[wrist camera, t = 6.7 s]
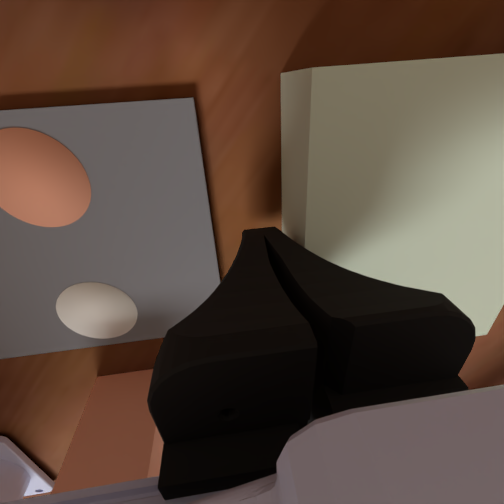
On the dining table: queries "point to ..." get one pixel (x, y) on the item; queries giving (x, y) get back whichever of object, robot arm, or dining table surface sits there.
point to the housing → (401, 174)
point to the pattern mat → (101, 224)
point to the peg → (113, 436)
